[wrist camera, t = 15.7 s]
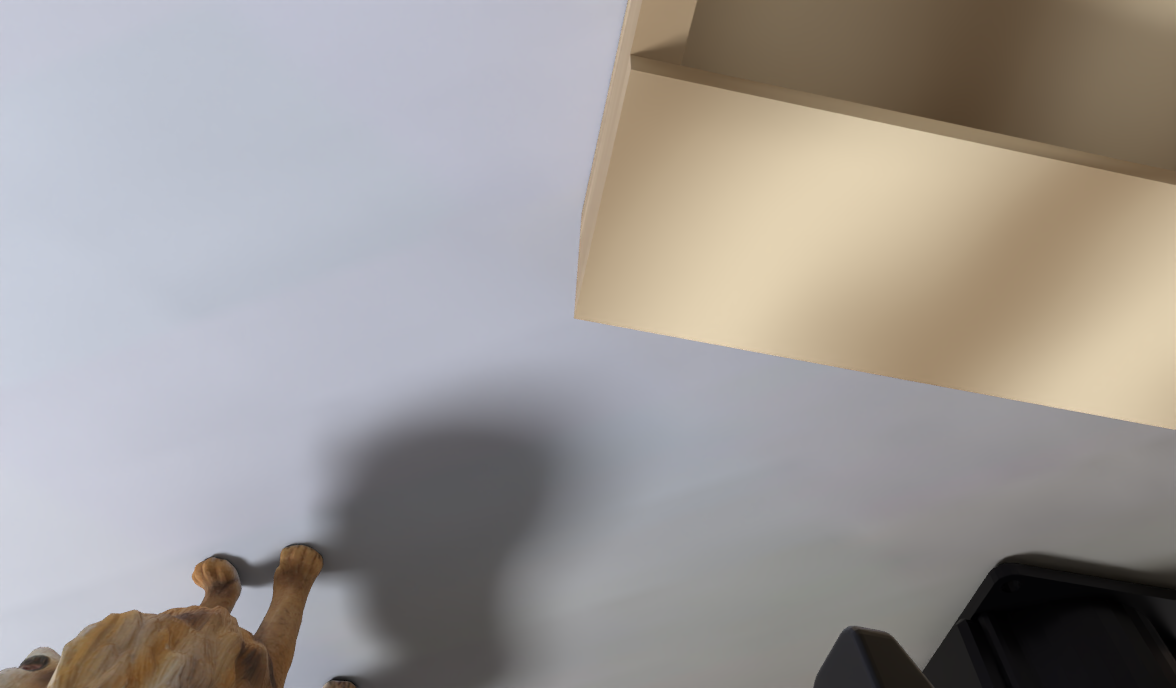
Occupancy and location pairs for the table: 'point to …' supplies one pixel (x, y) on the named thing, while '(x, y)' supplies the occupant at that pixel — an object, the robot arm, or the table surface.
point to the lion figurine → (186, 639)
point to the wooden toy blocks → (899, 191)
